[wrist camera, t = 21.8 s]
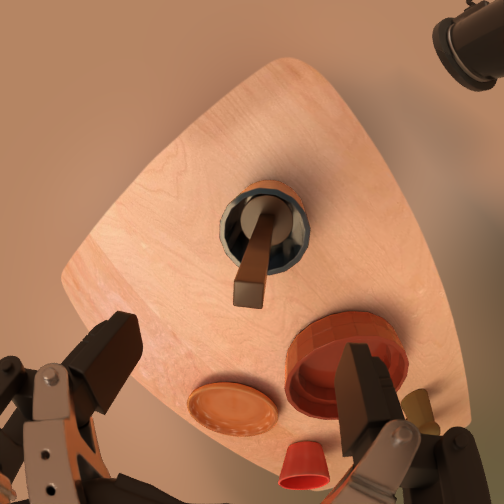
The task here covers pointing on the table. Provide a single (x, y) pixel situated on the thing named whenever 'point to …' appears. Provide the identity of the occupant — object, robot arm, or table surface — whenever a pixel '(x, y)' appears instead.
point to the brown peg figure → (420, 412)
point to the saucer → (232, 409)
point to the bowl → (337, 359)
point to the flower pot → (304, 467)
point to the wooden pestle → (260, 245)
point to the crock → (280, 254)
